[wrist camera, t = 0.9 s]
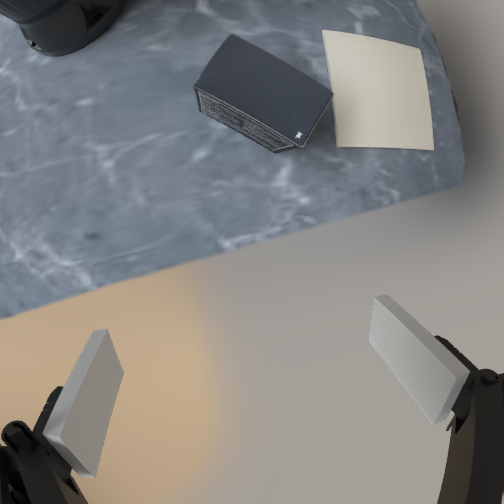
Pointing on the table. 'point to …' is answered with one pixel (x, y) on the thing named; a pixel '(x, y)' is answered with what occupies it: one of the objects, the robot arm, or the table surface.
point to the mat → (378, 93)
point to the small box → (260, 95)
